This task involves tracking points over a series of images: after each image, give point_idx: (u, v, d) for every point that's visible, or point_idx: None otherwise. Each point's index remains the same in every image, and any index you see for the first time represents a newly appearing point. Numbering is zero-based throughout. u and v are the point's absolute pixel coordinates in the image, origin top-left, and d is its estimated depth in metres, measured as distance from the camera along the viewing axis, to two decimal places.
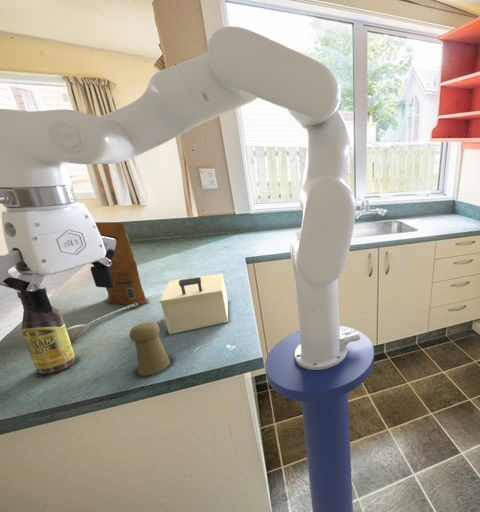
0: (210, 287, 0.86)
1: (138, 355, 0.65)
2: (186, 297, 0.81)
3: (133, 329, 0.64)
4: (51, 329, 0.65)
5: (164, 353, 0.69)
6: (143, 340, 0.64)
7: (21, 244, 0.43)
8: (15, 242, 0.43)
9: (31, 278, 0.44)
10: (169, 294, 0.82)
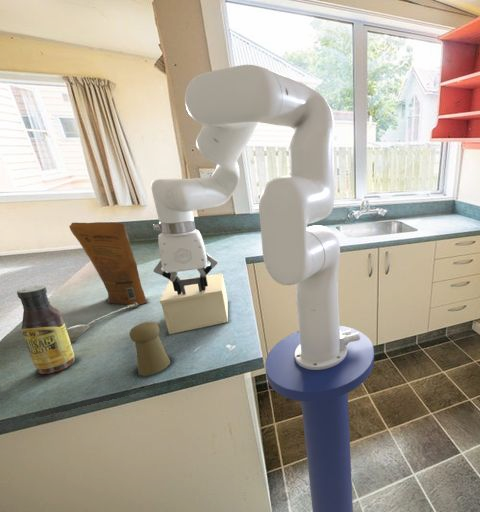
0: (210, 287, 0.86)
1: (138, 355, 0.65)
2: (186, 297, 0.81)
3: (133, 329, 0.64)
4: (51, 329, 0.65)
5: (164, 353, 0.69)
6: (143, 340, 0.64)
7: None
8: None
9: (170, 274, 0.78)
10: (169, 294, 0.82)
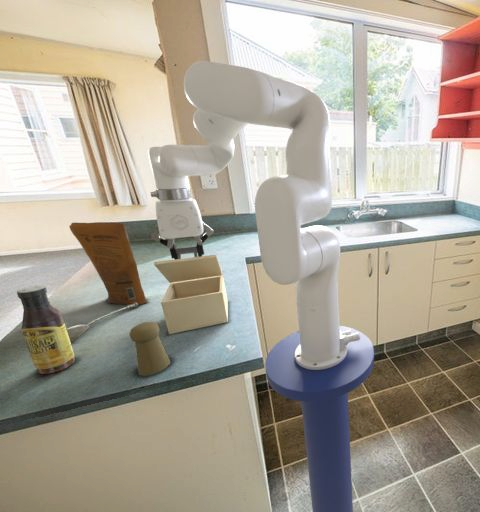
0: None
1: (138, 355, 0.65)
2: (180, 259, 0.81)
3: (133, 329, 0.64)
4: (51, 329, 0.65)
5: (164, 353, 0.69)
6: (143, 340, 0.64)
7: (157, 219, 0.78)
8: None
9: (167, 241, 0.81)
10: None
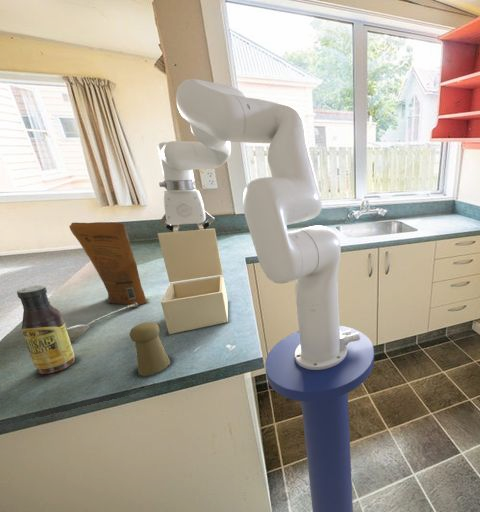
0: None
1: (138, 355, 0.65)
2: (182, 231, 0.89)
3: (133, 329, 0.64)
4: (51, 329, 0.65)
5: (164, 353, 0.69)
6: (143, 340, 0.64)
7: None
8: None
9: (173, 227, 0.91)
10: None
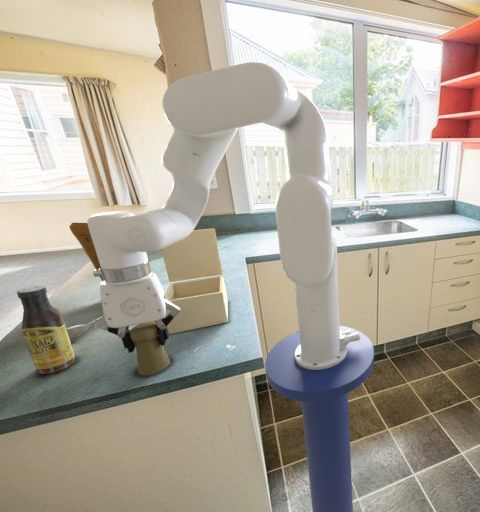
0: None
1: (138, 355, 0.65)
2: None
3: (133, 329, 0.64)
4: (51, 329, 0.65)
5: (164, 353, 0.69)
6: (143, 340, 0.64)
7: None
8: None
9: (118, 329, 0.63)
10: None
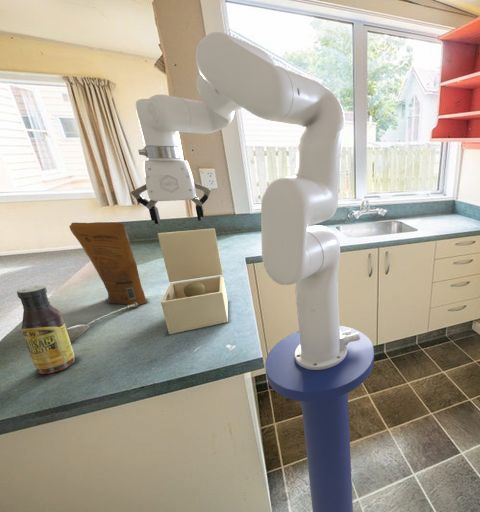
0: None
1: None
2: (182, 231, 0.89)
3: (186, 286, 0.84)
4: (51, 329, 0.65)
5: None
6: (194, 295, 0.84)
7: (145, 179, 0.73)
8: None
9: (149, 201, 0.75)
10: None
